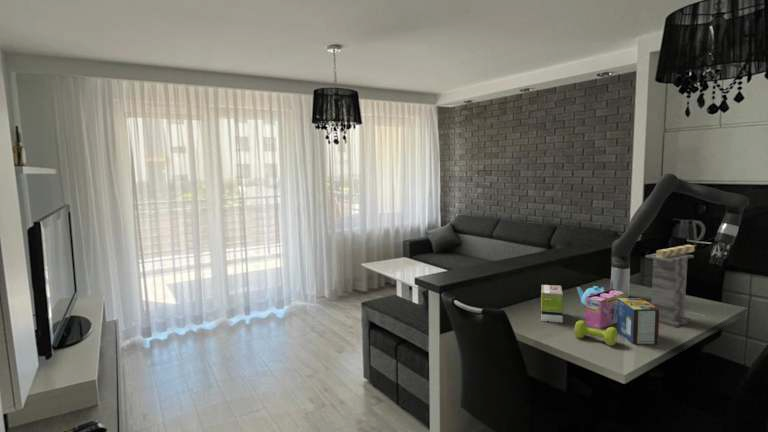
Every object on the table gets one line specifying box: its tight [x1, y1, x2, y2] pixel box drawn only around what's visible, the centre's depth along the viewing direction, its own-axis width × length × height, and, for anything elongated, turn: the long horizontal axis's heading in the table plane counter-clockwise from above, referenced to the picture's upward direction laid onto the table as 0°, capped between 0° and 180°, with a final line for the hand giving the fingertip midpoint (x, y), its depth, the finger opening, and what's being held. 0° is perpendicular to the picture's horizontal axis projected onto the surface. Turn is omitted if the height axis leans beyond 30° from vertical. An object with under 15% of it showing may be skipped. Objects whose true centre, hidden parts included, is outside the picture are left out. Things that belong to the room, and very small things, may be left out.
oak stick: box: [655, 244, 696, 258], centre depth 204 cm, size 27×3×3 cm, turn 118°
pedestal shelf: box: [644, 252, 695, 328], centre depth 204 cm, size 18×14×32 cm
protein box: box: [616, 297, 660, 345], centre depth 185 cm, size 10×15×16 cm
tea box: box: [540, 284, 564, 323], centre depth 213 cm, size 15×10×15 cm
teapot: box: [576, 285, 605, 308], centre depth 228 cm, size 15×15×11 cm
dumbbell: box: [573, 320, 619, 347], centre depth 184 cm, size 16×8×7 cm, turn 46°
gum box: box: [584, 288, 626, 330], centre depth 205 cm, size 24×8×14 cm, turn 123°
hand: (715, 264), depth 214 cm, fingers open, 8 cm apart
